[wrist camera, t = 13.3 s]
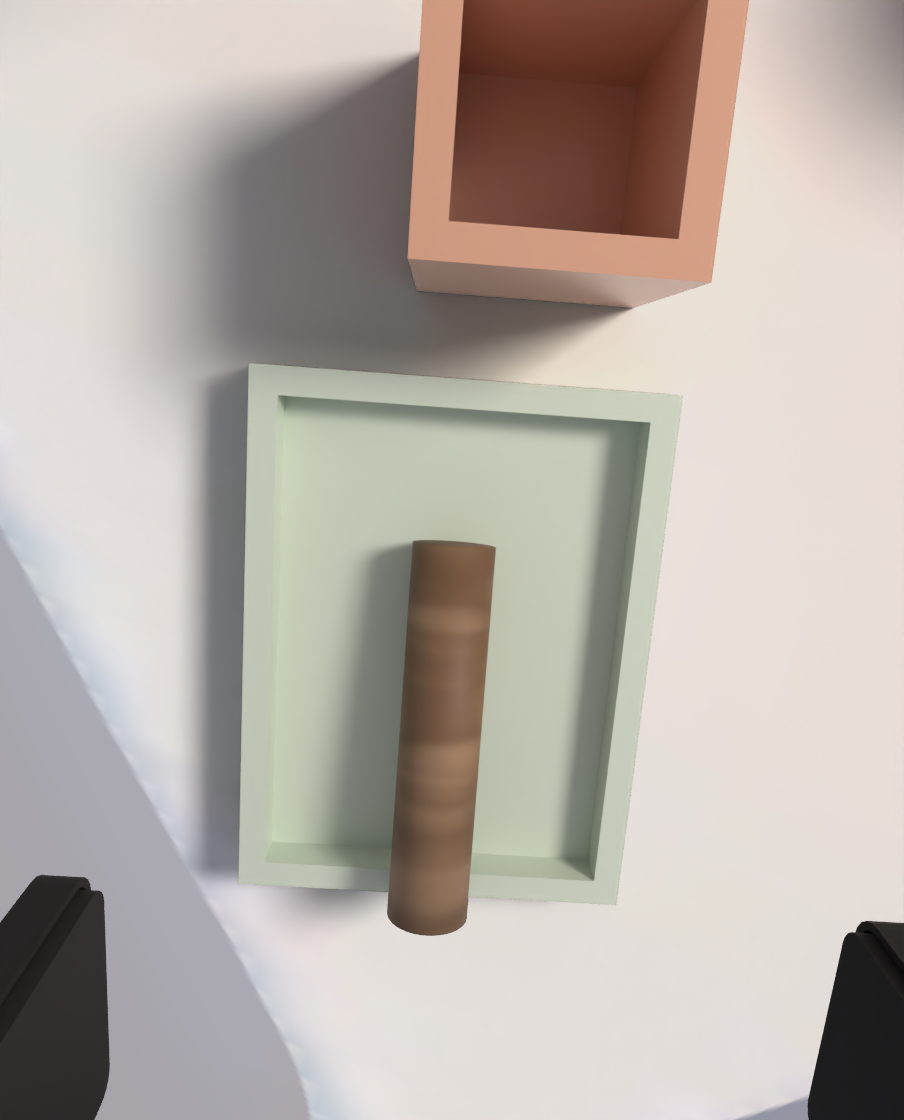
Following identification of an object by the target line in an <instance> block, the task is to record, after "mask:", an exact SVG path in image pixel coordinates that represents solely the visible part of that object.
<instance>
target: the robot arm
mask: <svg viewBox="0 0 904 1120" xmlns="http://www.w3.org/2000/svg"><path fill="white" fill-rule="evenodd" d="M103 898H104V897H103V894H102V892H100V891H91V887H90V883H89V881H88V879H86V878H84V877H66V876H48V875H40V876H37V877H36V878H35V879H34V880H33V881H32V882H31V883H30V884H29V886H28V887H27V888H26V890H25V891H24V892H23V893H22V895H21V896H20V898H19V899H18V900H17V901H16V903H15V904H14V905H13V907H12V908H11V909H10V911H9V912H8V913H7V915H6V916H5V917H4V919H3V920H2V921H1V922H0V1120H94V1119H95V1117H96V1115H97V1112H98V1110H99V1108H100V1106H101V1103H102V1101H103V1098H104V1095H105V1091H106V1088H107V1083H108V1077H109V1066H110V1065H109V1064H110V1063H109V1036H108V1035H109V1034H108V1006H107V1005H108V1004H107V976H106V975H107V974H106V945H105V916H104V899H103ZM808 1117H809V1120H904V923H892V922H874V921H865V922H861V924H860V925H859V926H858V927H857V930H856V932H855V933H853V932H851V933H848V934H847V935H846V936H845V938H844V941H843V945H842V949H841V954H840V959H839V963H838V968H837V972H836V977H835V981H834V986H833V990H832V995H831V999H830V1004H829V1008H828V1013H827V1017H826V1022H825V1026H824V1031H823V1035H822V1040H821V1045H820V1049H819V1054H818V1058H817V1063H816V1067H815V1072H814V1076H813V1081H812V1085H811V1090H810V1094H809V1099H808Z"/></svg>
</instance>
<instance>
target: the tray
mask: <svg viewBox="0 0 904 1120" xmlns="http://www.w3.org/2000/svg"><path fill="white" fill-rule="evenodd" d="M682 399H683V396H682V395H672V394H661V393H648V392H634V391H621V390H608V389H594V388H581V387H567V386H554V385H541V384H527V383H514V382H501V381H487V380H474V379H460V378H447V377H434V376H420V375H407V374H394V373H380V372H367V371H353V370H340V369H327V368H313V367H300V366H287V365H273V364H257V363H249V374H248V424H247V475H246V526H245V577H244V627H243V678H242V729H241V779H240V830H239V881H238V884H255V885H273V886H290V887H308V888H325V889H343V890H361V891H378V892H389V879H390V864H391V850H392V835H393V821H394V806H395V792H396V777H397V763H398V748H399V734H400V719H401V705H402V690H403V676H404V661H405V647H406V632H407V618H408V603H409V589H410V574H411V560H412V545H413V541H416V540H444V541H459V542H470V543H478V544H485V545H490V546H494V547H496V554H495V566H494V579H493V592H492V604H491V617H490V629H489V642H488V654H487V667H486V680H485V692H484V705H483V717H482V730H481V743H480V755H479V768H478V780H477V793H476V806H475V818H474V831H473V843H472V856H471V869H470V881H469V894H468V897H484V898H501V899H519V900H536V901H554V902H572V903H589V904H607V905H616V903H617V896H618V888H619V880H620V873H621V865H622V857H623V850H624V842H625V834H626V827H627V819H628V812H629V804H630V796H631V789H632V781H633V773H634V766H635V758H636V750H637V743H638V735H639V727H640V720H641V712H642V704H643V697H644V689H645V682H646V674H647V666H648V659H649V651H650V643H651V636H652V628H653V620H654V613H655V605H656V597H657V590H658V582H659V574H660V567H661V559H662V552H663V544H664V536H665V529H666V521H667V513H668V506H669V498H670V490H671V483H672V475H673V467H674V460H675V452H676V444H677V437H678V429H679V422H680V414H681V406H682Z"/></svg>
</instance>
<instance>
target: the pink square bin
mask: <svg viewBox="0 0 904 1120" xmlns="http://www.w3.org/2000/svg"><path fill="white" fill-rule="evenodd" d="M748 5H749V0H423V2H422V19H421V36H420V53H419V70H418V87H417V105H416V122H415V139H414V156H413V173H412V190H411V207H410V224H409V242H408V262H409V265H410V269H411V272H412V276H413V279H414V282H415V286H416V289H417V291H425V292H437V293H450V294H463V295H476V296H489V297H502V298H515V299H528V300H540V301H553V302H566V303H579V304H592V305H605V306H618V307H631V308H635V307H638V306H641V305H644V304H647V303H650V302H653V301H656V300H659V299H662V298H666V297H669V296H672V295H675V294H678V293H681V292H684V291H687V290H690V289H693V288H696V287H699V286H702V285H705V284H708V283H711V281H712V273H713V266H714V258H715V251H716V243H717V236H718V228H719V221H720V213H721V206H722V199H723V191H724V184H725V176H726V169H727V161H728V154H729V146H730V139H731V131H732V124H733V117H734V109H735V102H736V94H737V87H738V79H739V72H740V64H741V57H742V49H743V42H744V35H745V27H746V20H747V12H748Z"/></svg>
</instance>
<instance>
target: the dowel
mask: <svg viewBox="0 0 904 1120" xmlns="http://www.w3.org/2000/svg"><path fill="white" fill-rule="evenodd" d="M495 554H496V547H494V546H490V545H485V544H478V543H470V542H459V541H444V540H416V541H413V545H412V560H411V574H410V589H409V603H408V618H407V632H406V647H405V661H404V676H403V690H402V705H401V719H400V734H399V748H398V763H397V777H396V792H395V806H394V821H393V835H392V850H391V864H390V879H389V893H388V908H387V915H388V918H389V920H390V921H391V922H392V923H393V924H394V925H395V926H397V927H398V928H400V929H402V930H404V931H407V932H410V933H413V934H418V935H426V936H435V935H443V934H448V933H451V932H454V931H456V930H458V929H459V928H461V927H462V926H463V925H464V923H465V922H466V919H467V906H468V894H469V881H470V869H471V856H472V843H473V831H474V818H475V806H476V793H477V780H478V768H479V755H480V743H481V730H482V717H483V705H484V692H485V680H486V667H487V654H488V642H489V629H490V617H491V604H492V592H493V579H494V566H495Z"/></svg>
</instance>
